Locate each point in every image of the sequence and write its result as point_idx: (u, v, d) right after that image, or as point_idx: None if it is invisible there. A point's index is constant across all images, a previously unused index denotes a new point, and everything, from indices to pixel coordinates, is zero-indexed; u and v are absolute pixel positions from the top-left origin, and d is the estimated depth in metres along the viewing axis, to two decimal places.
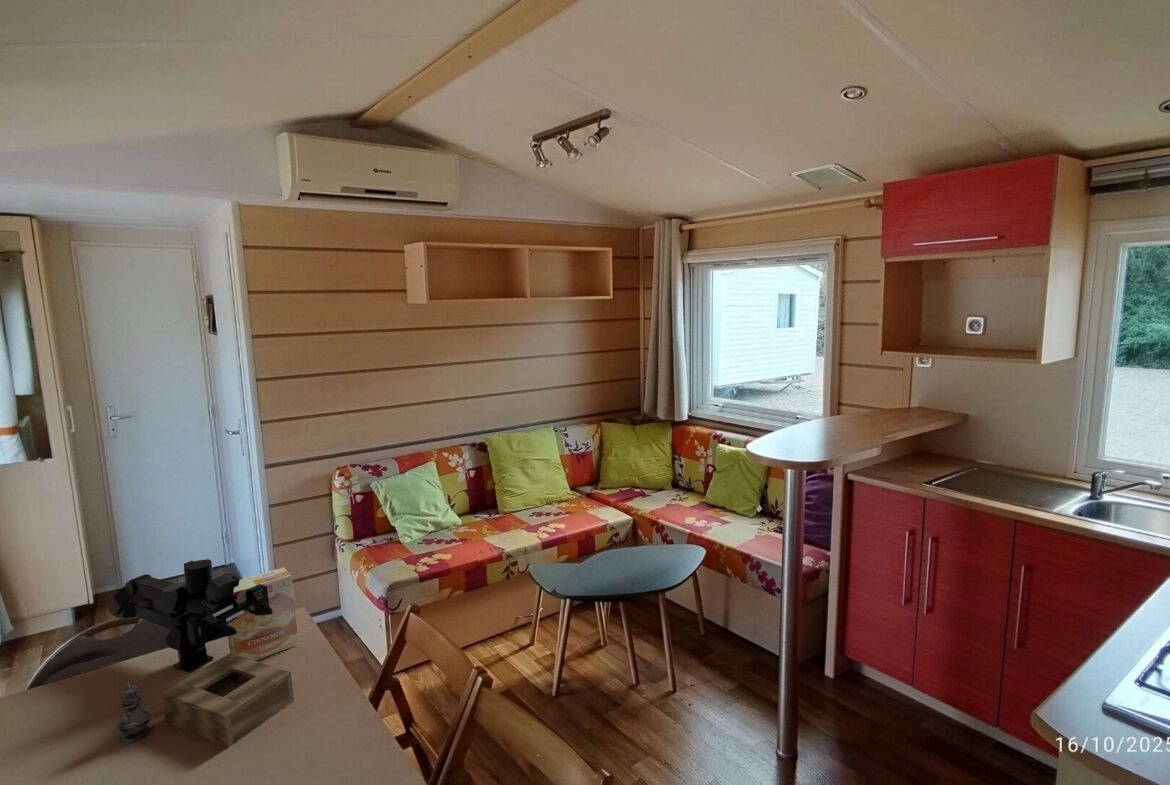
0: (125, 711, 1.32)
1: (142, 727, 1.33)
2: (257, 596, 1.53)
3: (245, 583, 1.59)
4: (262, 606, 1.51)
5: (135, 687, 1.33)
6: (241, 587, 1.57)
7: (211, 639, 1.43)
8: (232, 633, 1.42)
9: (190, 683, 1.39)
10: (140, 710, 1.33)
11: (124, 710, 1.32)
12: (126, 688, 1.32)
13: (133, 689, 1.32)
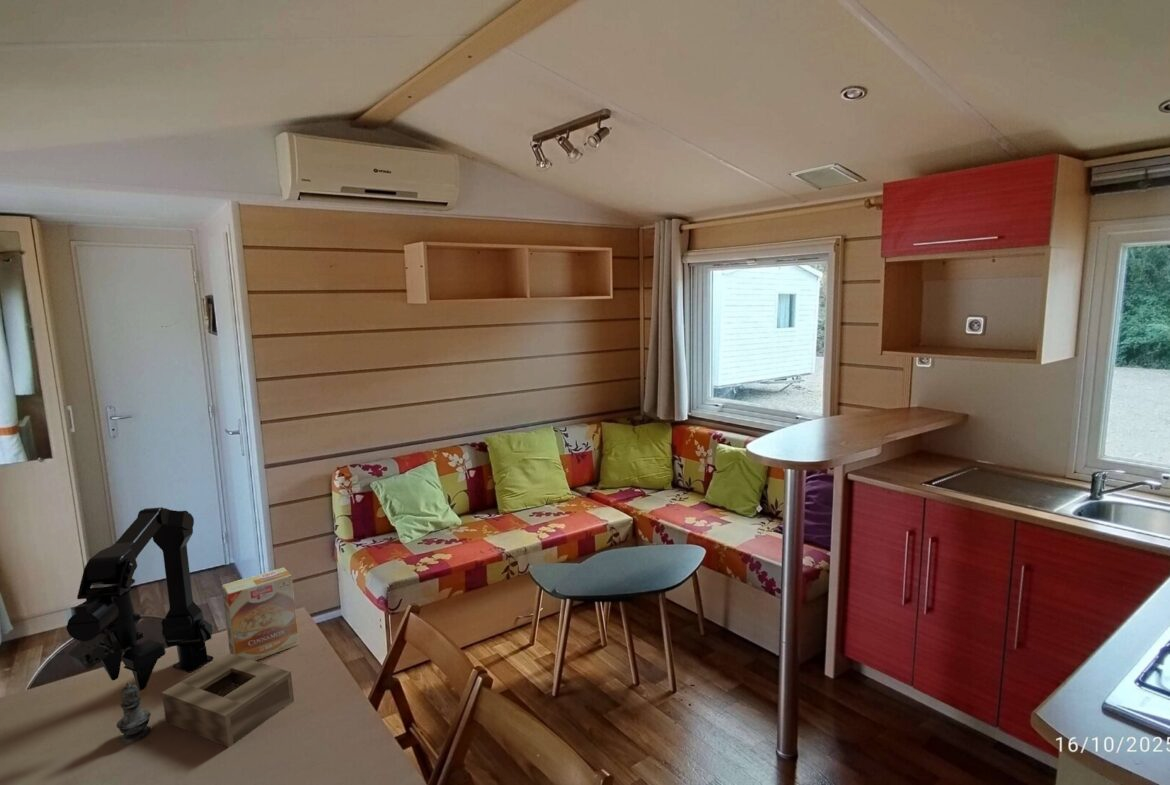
0: (125, 711, 1.32)
1: (142, 727, 1.33)
2: None
3: (245, 583, 1.59)
4: None
5: (135, 687, 1.33)
6: (241, 587, 1.57)
7: None
8: None
9: (190, 683, 1.39)
10: (140, 710, 1.33)
11: (124, 710, 1.32)
12: (126, 688, 1.32)
13: (133, 689, 1.32)
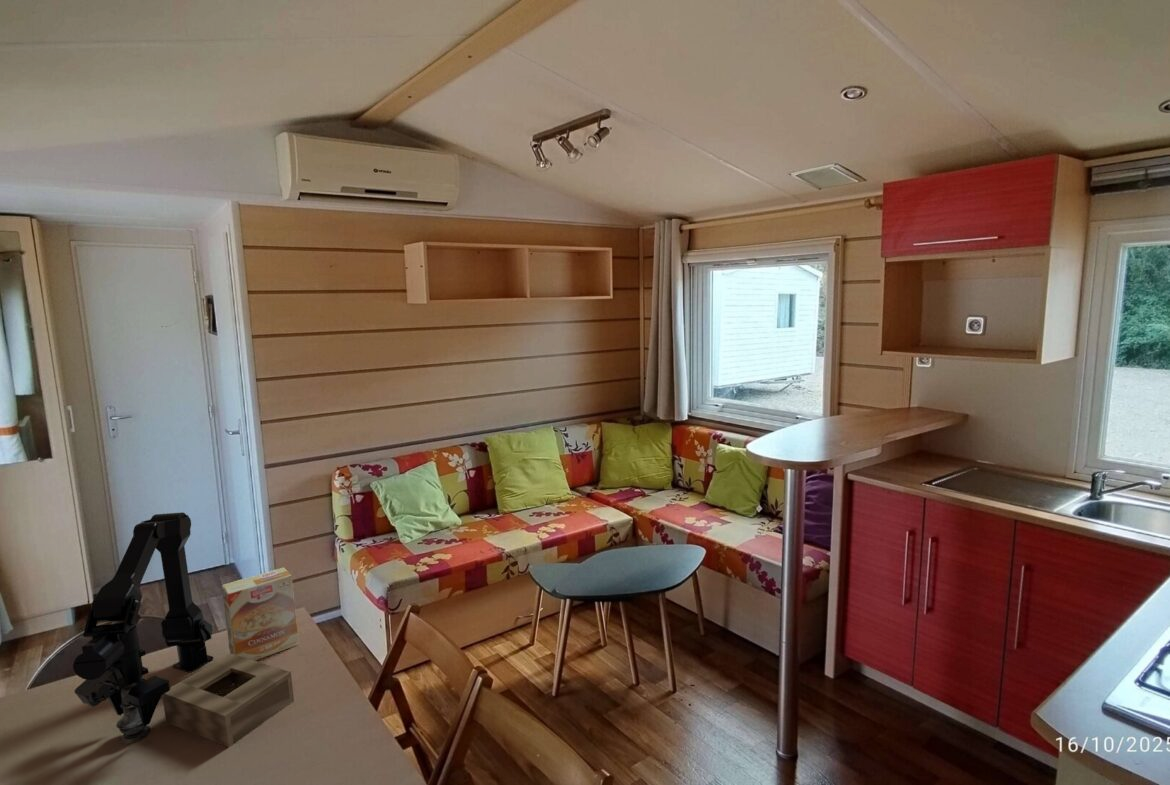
0: (125, 711, 1.32)
1: (142, 727, 1.33)
2: None
3: (245, 583, 1.59)
4: None
5: None
6: (241, 587, 1.57)
7: None
8: None
9: (190, 683, 1.39)
10: None
11: (124, 710, 1.32)
12: (126, 688, 1.32)
13: None
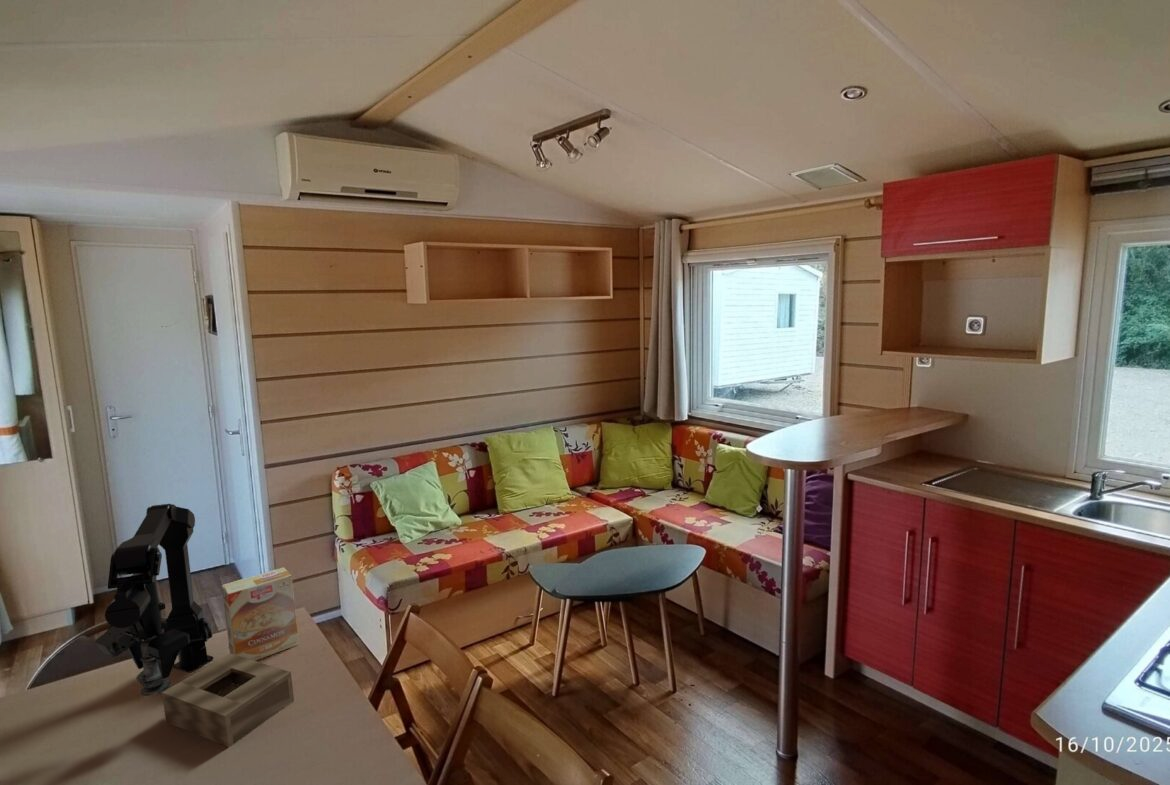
0: (147, 664, 1.32)
1: (165, 678, 1.34)
2: None
3: (245, 583, 1.59)
4: None
5: None
6: (241, 587, 1.57)
7: None
8: None
9: (190, 683, 1.39)
10: None
11: (146, 663, 1.32)
12: (147, 641, 1.32)
13: None
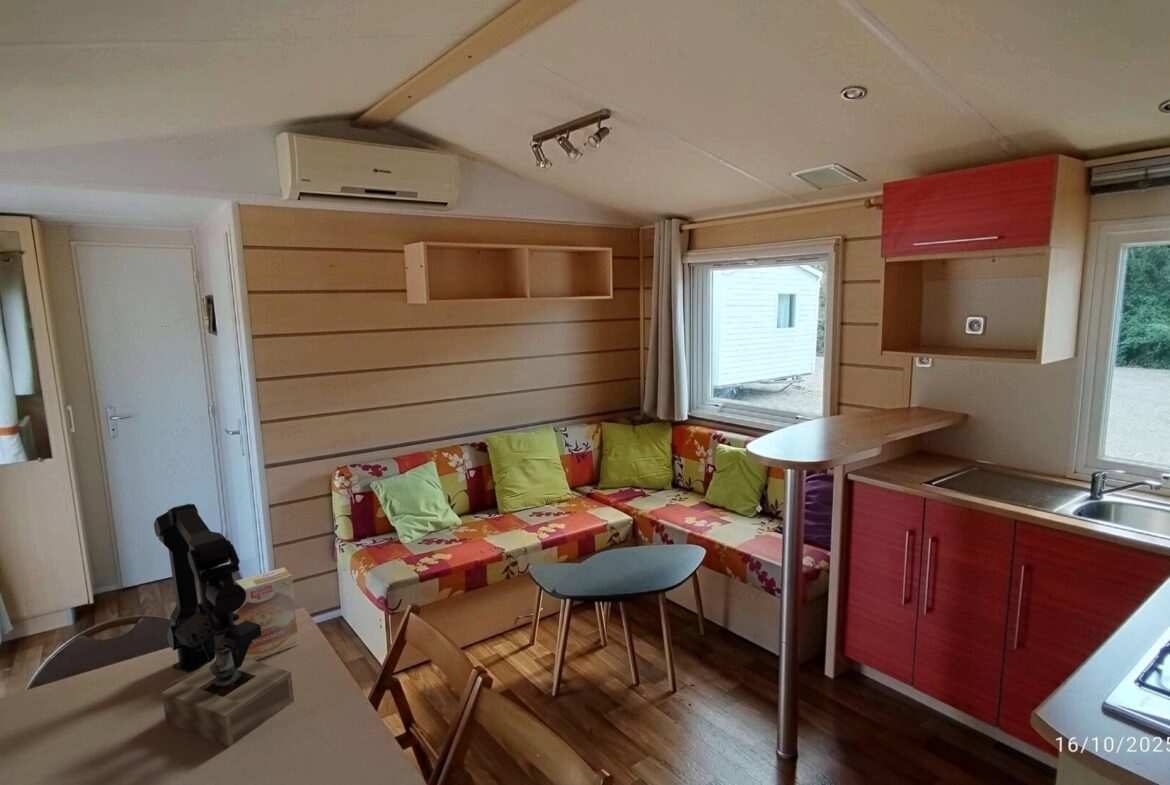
0: (220, 655, 1.37)
1: None
2: (229, 648, 1.34)
3: (245, 583, 1.59)
4: None
5: None
6: None
7: None
8: None
9: (190, 683, 1.39)
10: None
11: (219, 654, 1.37)
12: (220, 633, 1.37)
13: None
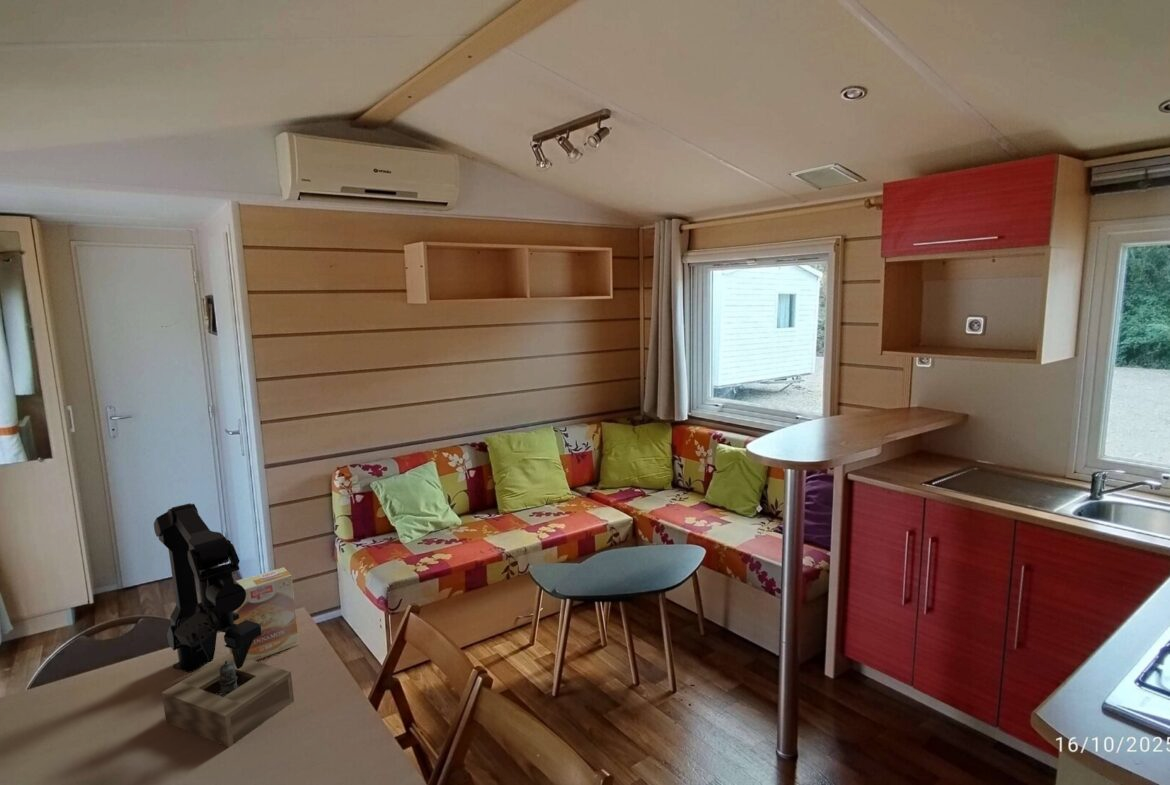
0: None
1: None
2: (230, 648, 1.34)
3: (245, 583, 1.59)
4: None
5: (221, 669, 1.38)
6: None
7: None
8: None
9: (190, 683, 1.39)
10: (222, 692, 1.39)
11: None
12: None
13: (220, 668, 1.38)
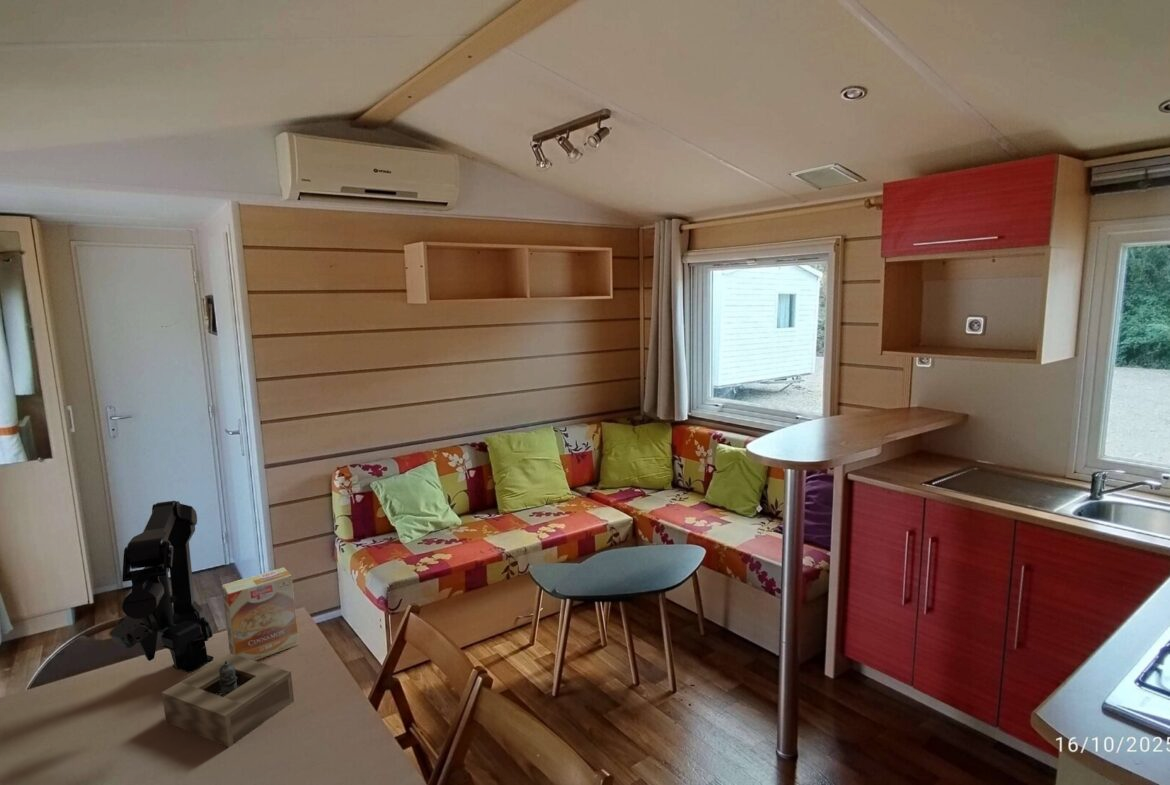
0: None
1: None
2: None
3: (245, 583, 1.59)
4: None
5: (221, 669, 1.38)
6: (241, 587, 1.57)
7: None
8: None
9: (190, 683, 1.39)
10: (222, 692, 1.39)
11: None
12: None
13: (220, 668, 1.38)
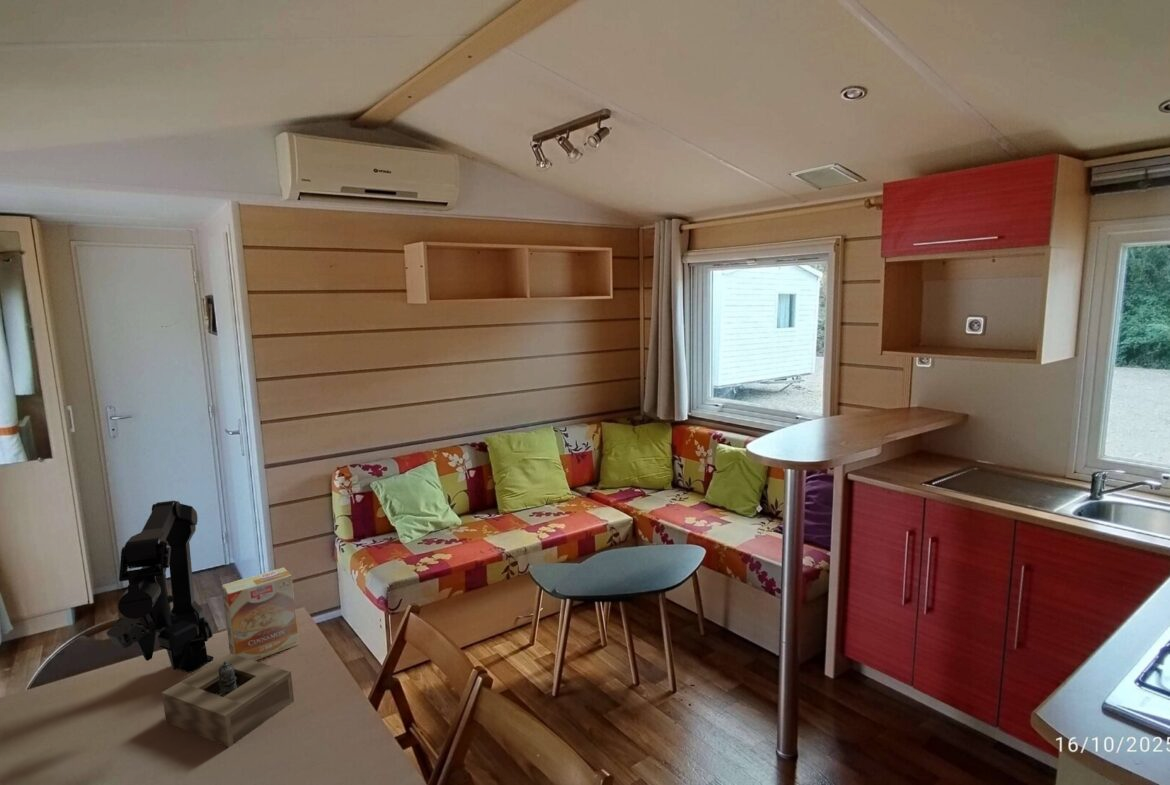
0: None
1: None
2: None
3: (245, 583, 1.59)
4: None
5: (220, 670, 1.38)
6: (241, 587, 1.57)
7: None
8: None
9: (190, 683, 1.39)
10: (222, 692, 1.39)
11: None
12: None
13: (219, 669, 1.38)
